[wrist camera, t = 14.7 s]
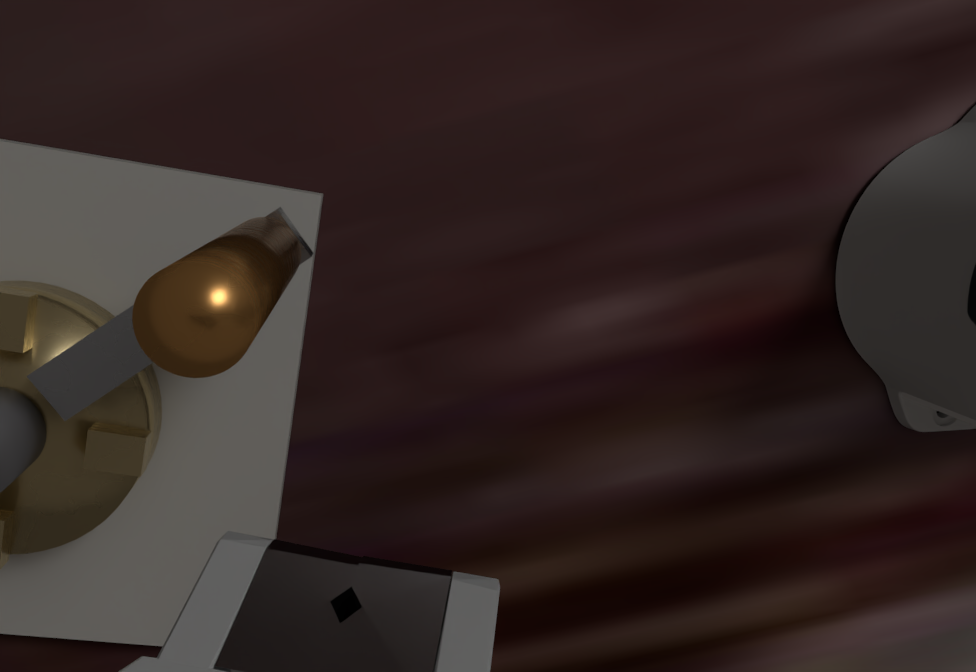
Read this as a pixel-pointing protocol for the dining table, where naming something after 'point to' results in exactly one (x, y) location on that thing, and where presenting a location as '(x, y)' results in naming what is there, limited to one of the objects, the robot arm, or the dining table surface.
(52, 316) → the brass disc with post
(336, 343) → the dining table surface
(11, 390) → the white rectangular board
